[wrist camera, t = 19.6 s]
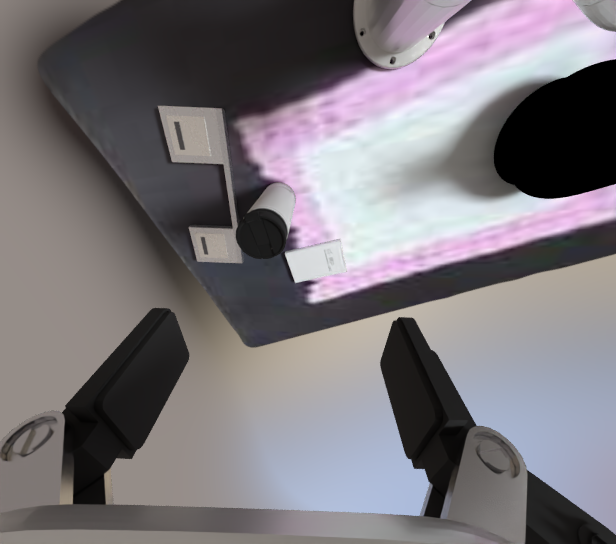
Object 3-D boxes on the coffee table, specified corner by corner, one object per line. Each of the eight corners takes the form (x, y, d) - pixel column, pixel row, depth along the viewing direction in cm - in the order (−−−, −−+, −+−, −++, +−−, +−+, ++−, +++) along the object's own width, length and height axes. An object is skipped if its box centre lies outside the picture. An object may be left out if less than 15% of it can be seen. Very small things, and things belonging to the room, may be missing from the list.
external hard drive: (285, 250, 51) (340, 237, 49) (295, 279, 55) (346, 268, 54) (284, 253, 50) (340, 240, 48) (295, 283, 54) (347, 272, 52)
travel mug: (290, 176, 42) (276, 208, 25) (298, 211, 46) (291, 259, 29) (258, 184, 43) (224, 219, 26) (269, 217, 47) (244, 267, 30)
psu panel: (163, 106, 37) (156, 105, 36) (224, 109, 37) (221, 108, 36) (200, 258, 52) (196, 262, 50) (244, 259, 52) (242, 263, 50)
